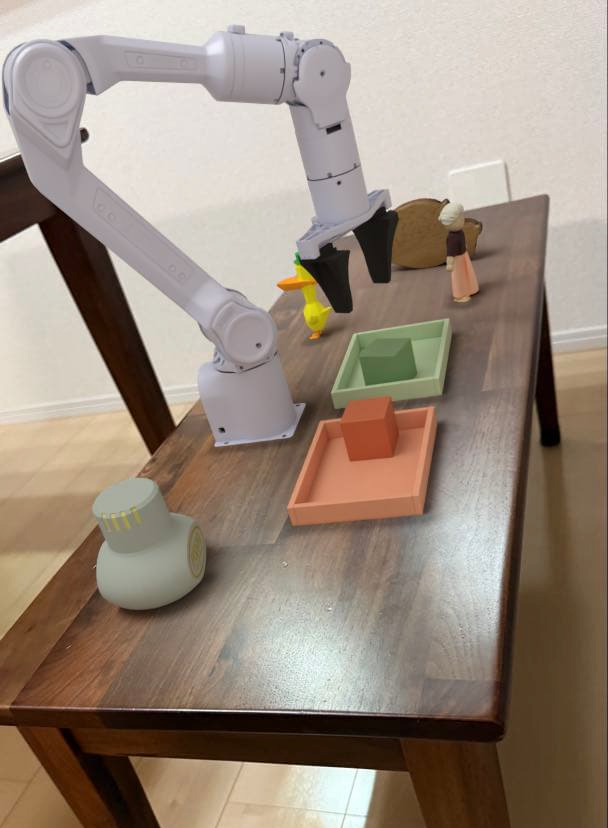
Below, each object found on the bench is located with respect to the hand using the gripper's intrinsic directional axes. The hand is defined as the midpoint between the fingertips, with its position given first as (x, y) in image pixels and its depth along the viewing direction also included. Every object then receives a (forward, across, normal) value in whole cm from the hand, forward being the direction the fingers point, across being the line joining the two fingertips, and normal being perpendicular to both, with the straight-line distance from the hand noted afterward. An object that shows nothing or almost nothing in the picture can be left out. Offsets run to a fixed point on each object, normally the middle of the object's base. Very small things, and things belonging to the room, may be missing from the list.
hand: (363, 296), depth 94 cm
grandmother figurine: (+11, -23, -2) cm, 26 cm away
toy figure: (+11, -9, -17) cm, 22 cm away
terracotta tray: (+10, +18, +11) cm, 24 cm away
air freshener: (+10, +39, +2) cm, 41 cm away
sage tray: (+10, -2, +1) cm, 11 cm away
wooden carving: (+11, -35, -14) cm, 39 cm away
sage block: (+10, +1, +2) cm, 10 cm away
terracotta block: (+10, +14, +9) cm, 19 cm away
